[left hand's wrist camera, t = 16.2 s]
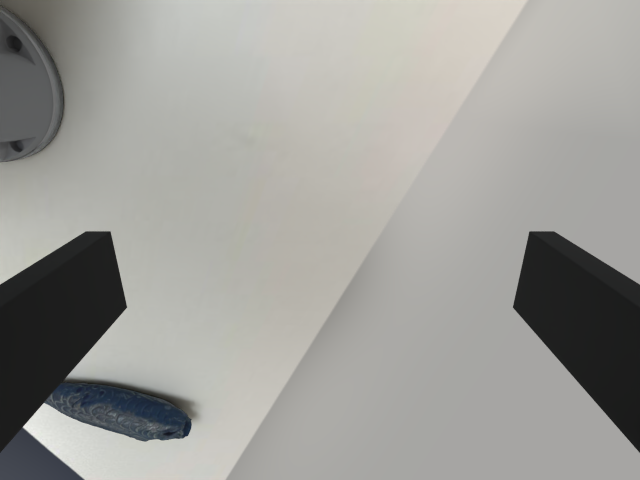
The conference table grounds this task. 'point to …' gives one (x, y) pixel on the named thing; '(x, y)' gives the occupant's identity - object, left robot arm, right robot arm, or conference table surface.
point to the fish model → (121, 411)
